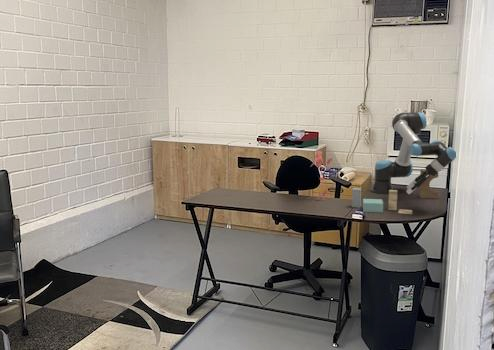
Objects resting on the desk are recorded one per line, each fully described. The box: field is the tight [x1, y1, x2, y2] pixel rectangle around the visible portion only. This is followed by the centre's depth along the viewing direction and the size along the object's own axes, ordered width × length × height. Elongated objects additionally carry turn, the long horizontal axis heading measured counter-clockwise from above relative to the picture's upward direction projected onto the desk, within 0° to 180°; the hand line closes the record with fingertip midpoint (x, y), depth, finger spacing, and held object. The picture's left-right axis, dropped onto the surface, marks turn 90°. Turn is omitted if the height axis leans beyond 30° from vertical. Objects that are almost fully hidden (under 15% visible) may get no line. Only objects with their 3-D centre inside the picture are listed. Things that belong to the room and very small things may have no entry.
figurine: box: [306, 149, 333, 201], centre depth 329 cm, size 15×26×35 cm, turn 146°
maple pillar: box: [387, 189, 398, 211], centre depth 296 cm, size 5×5×12 cm
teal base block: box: [362, 198, 384, 214], centre depth 296 cm, size 12×12×6 cm
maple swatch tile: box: [397, 208, 413, 215], centre depth 289 cm, size 8×8×1 cm
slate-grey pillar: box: [351, 187, 362, 209], centre depth 305 cm, size 5×5×12 cm
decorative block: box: [418, 168, 440, 200], centre depth 324 cm, size 11×6×20 cm, turn 78°
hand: (407, 190), depth 291 cm, fingers open, 13 cm apart
